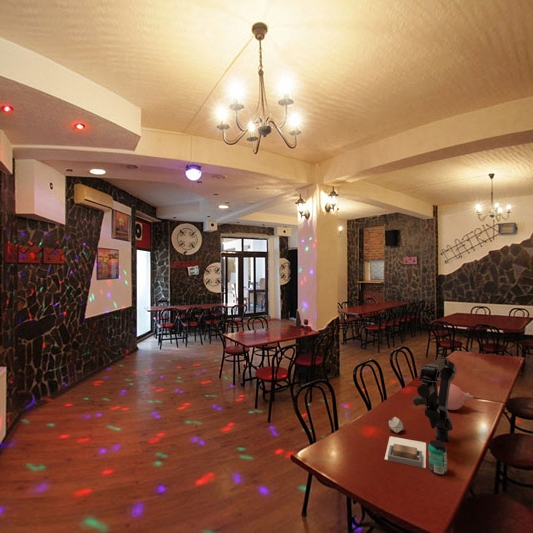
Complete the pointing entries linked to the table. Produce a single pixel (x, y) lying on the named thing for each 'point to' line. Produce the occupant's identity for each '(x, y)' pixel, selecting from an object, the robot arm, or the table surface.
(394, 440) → the mat
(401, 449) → the card box
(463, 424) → the table surface
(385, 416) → the table surface
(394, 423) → the game die
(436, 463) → the beverage can
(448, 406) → the balloon
